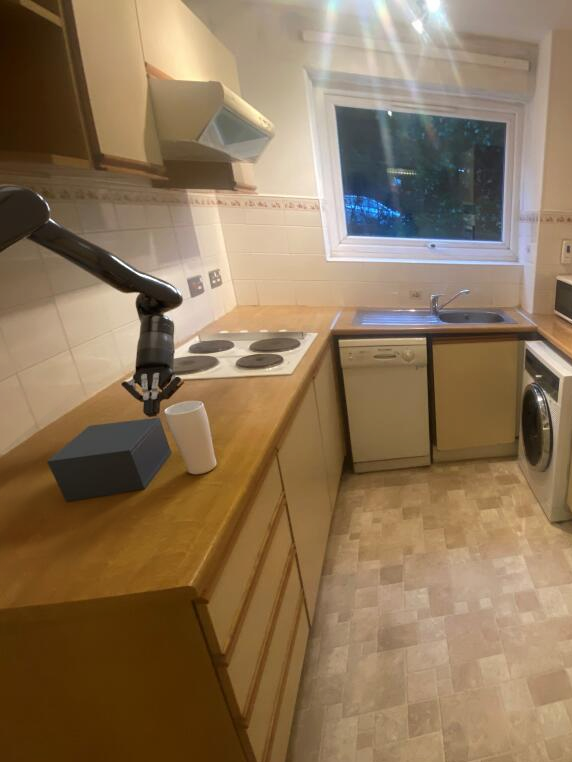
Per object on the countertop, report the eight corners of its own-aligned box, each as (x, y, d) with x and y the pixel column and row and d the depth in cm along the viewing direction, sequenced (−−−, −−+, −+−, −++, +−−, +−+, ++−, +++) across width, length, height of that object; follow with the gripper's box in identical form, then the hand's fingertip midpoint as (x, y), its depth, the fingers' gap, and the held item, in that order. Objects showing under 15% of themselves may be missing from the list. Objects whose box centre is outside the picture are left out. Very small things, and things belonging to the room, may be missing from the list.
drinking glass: (180, 480, 91) (158, 416, 85) (189, 463, 97) (169, 403, 91) (217, 473, 93) (199, 411, 88) (224, 457, 99) (206, 398, 93)
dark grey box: (104, 462, 97) (89, 425, 94) (171, 452, 101) (159, 417, 97) (66, 502, 84) (46, 461, 81) (144, 489, 88) (129, 450, 84)
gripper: (116, 348, 107) (109, 414, 101) (178, 344, 111) (175, 406, 105) (133, 362, 114) (127, 424, 108) (191, 357, 118) (189, 416, 112)
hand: (151, 415), depth 106 cm, fingers closed
